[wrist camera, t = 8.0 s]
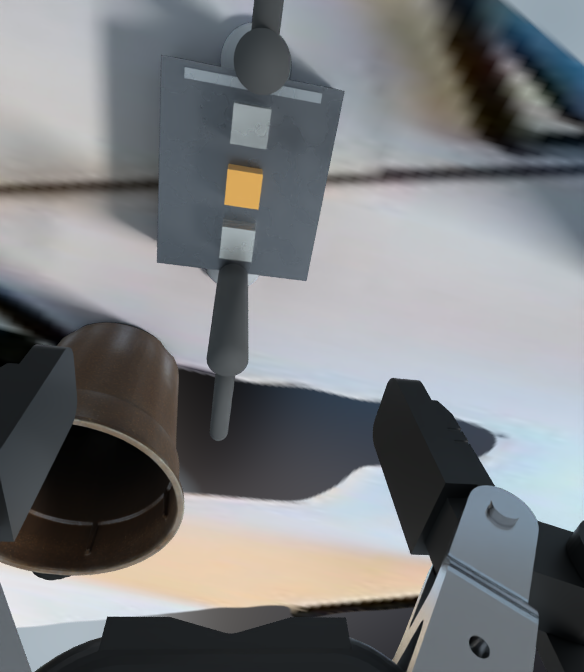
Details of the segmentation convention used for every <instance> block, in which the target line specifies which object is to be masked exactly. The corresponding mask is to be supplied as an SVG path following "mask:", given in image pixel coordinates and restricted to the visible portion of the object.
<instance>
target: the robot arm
mask: <svg viewBox="0 0 584 672" xmlns="http://www.w3.org/2000/svg"><path fill="white" fill-rule="evenodd" d="M76 409H77V390H76V378H75V366H74V355H73V351H72V349H71V348H70V347H60V346H50V345H39V344H36V345H34V346H33V347H32V348H31V350H30V351H29V352H28V353H27V355H26V356H25V357H24V359H23V360H22V361H21V362H20V364H13V363H7V364H6V365H4V366H2V367H0V541H2V542H14V541H15V539H16V537H17V535H18V533H19V531H20V529H21V527H22V525H23V523H24V521H25V519H26V517H27V515H28V513H29V511H30V509H31V507H32V505H33V503H34V501H35V499H36V497H37V495H38V493H39V491H40V489H41V487H42V485H43V483H44V480H45V478H46V476H47V474H48V472H49V470H50V468H51V466H52V464H53V462H54V460H55V458H56V456H57V454H58V452H59V450H60V448H61V446H62V444H63V442H64V440H65V438H66V436H67V434H68V432H69V430H70V428H71V426H72V424H73V421H74V418H75V414H76ZM373 442H374V446H375V449H376V452H377V455H378V458H379V461H380V464H381V467H382V470H383V473H384V476H385V479H386V482H387V485H388V488H389V491H390V494H391V497H392V500H393V503H394V506H395V509H396V512H397V515H398V518H399V521H400V524H401V527H402V530H403V533H404V536H405V538H406V541H407V544H408V547H409V550H410V553H411V554H413V555H429V556H430V559H431V561H432V566H431V568H430V570H429V572H428V574H427V577H426V579H425V582H424V585H423V587H422V590H421V592H420V595H419V597H418V600H417V603H416V605H415V608H414V610H413V613H412V616H411V618H410V621H409V624H408V626H407V628H406V631H405V634H404V636H403V639H402V641H401V643H400V646H399V648H398V650H397V652H396V654H395V656H394V659H393V661H392V660H390V659H389V658H388V657H386V656H385V655H384V654H383V653H381V652H379V651H377V650H376V649H374V648H372V647H371V646H369V645H367V644H365V643H362V642H360V641H358V640H356V639H353V638H350V637H349V633H348V628H347V622H346V618H313V617H290V618H287V619H284V620H280V621H277V622H273V623H270V624H266V625H263V626H259V627H256V628H252V629H249V630H245V631H242V632H239V633H234V634H228V633H223V632H220V631H217V630H213V629H210V628H206V627H203V626H199V625H195V624H192V623H189V622H185V621H182V620H178V619H175V618H171V617H107V620H106V624H105V627H104V632H103V635H102V637H101V638H98V639H94V640H91V641H88V642H86V643H83V644H81V645H78V646H76V647H73V648H72V649H70V650H68V651H66V652H64V653H62V654H60V655H58V656H57V657H55V658H54V659H52V660H51V661H49V662H48V663H46V664H44V665H43V666H42V667H40V668H39V669H38V670H36V671H35V672H533V665H534V657H535V648H537V651H538V653H539V655H540V657H541V659H542V661H543V664H544V666H545V668H546V670H547V672H584V521H582V522H581V523H580V525H579V526H578V527H577V529H576V530H575V531H574V532H571V531H567V530H564V529H561V528H558V527H555V526H552V525H549V524H546V523H542V522H539V521H537V519H536V517H535V515H534V514H533V512H532V511H531V510H530V508H529V507H528V506H527V505H526V504H525V503H524V502H523V501H522V500H520V499H519V498H518V497H516V496H515V495H513V494H512V493H510V492H508V491H506V490H504V489H501V488H498V487H495V485H494V484H493V482H492V480H491V479H490V477H489V475H488V474H487V472H486V470H485V469H484V467H483V465H482V464H481V462H480V460H479V458H478V457H477V455H476V453H475V452H474V450H473V449H472V447H471V445H470V444H468V440H467V438H466V437H465V435H464V433H463V432H461V428H460V426H459V425H458V423H457V421H456V420H455V418H454V416H453V415H452V413H450V412H449V411H448V410H447V409H446V408H445V407H444V406H443V405H442V404H440V403H439V402H438V401H435V400H431V398H430V397H429V395H428V393H427V391H426V389H425V388H424V386H423V384H422V383H421V382H420V381H419V380H408V379H397V378H391V379H390V380H389V381H388V383H387V386H386V389H385V392H384V395H383V398H382V401H381V404H380V407H379V409H378V412H377V415H376V418H375V422H374V426H373ZM0 672H31V668H30V666H29V663H28V660H27V657H26V654H25V652H24V649H23V646H22V643H21V640H20V638H19V635H18V632H17V629H16V626H15V623H14V620H13V618H12V615H11V612H10V609H9V606H8V603H7V601H6V598H5V595H4V592H3V589H2V587H1V584H0Z"/></svg>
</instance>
